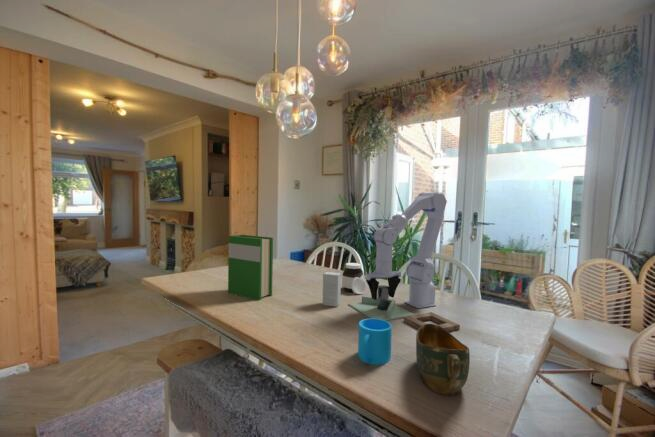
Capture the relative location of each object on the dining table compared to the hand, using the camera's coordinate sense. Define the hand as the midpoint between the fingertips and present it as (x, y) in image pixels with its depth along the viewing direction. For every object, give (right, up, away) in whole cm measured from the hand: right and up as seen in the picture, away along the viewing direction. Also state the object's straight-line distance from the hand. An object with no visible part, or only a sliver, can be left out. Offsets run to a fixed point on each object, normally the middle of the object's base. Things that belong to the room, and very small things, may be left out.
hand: (382, 297), depth 111 cm
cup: (+4, -7, -44) cm, 45 cm away
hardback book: (-53, -3, +15) cm, 55 cm away
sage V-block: (-1, -4, 0) cm, 5 cm away
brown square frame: (+13, -5, -14) cm, 19 cm away
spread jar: (-8, -4, +24) cm, 26 cm away
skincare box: (-19, -4, +5) cm, 20 cm away
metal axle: (0, -4, 0) cm, 4 cm away
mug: (-9, -6, -36) cm, 38 cm away
